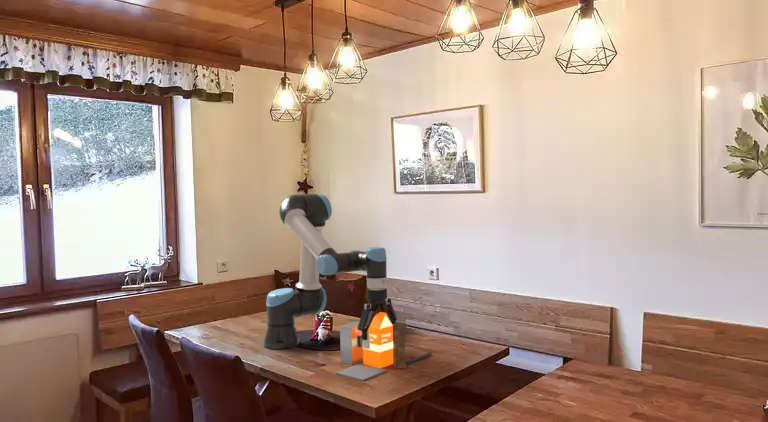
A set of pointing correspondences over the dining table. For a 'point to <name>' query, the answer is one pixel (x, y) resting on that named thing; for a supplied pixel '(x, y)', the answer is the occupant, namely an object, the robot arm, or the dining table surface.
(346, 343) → the box
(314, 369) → the dining table surface
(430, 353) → the dark gray rod
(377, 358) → the orange juice
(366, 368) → the felt mat
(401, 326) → the cable post
